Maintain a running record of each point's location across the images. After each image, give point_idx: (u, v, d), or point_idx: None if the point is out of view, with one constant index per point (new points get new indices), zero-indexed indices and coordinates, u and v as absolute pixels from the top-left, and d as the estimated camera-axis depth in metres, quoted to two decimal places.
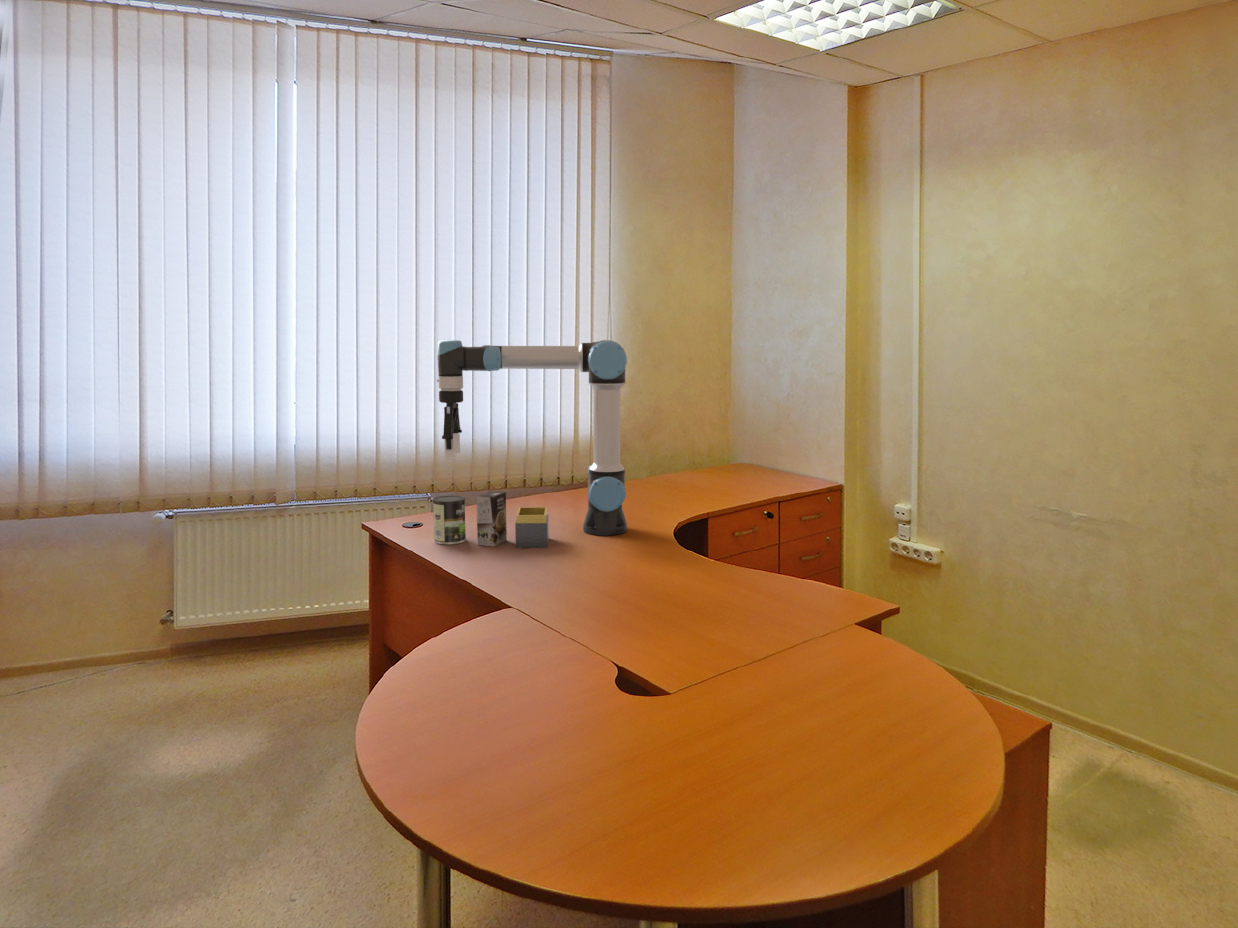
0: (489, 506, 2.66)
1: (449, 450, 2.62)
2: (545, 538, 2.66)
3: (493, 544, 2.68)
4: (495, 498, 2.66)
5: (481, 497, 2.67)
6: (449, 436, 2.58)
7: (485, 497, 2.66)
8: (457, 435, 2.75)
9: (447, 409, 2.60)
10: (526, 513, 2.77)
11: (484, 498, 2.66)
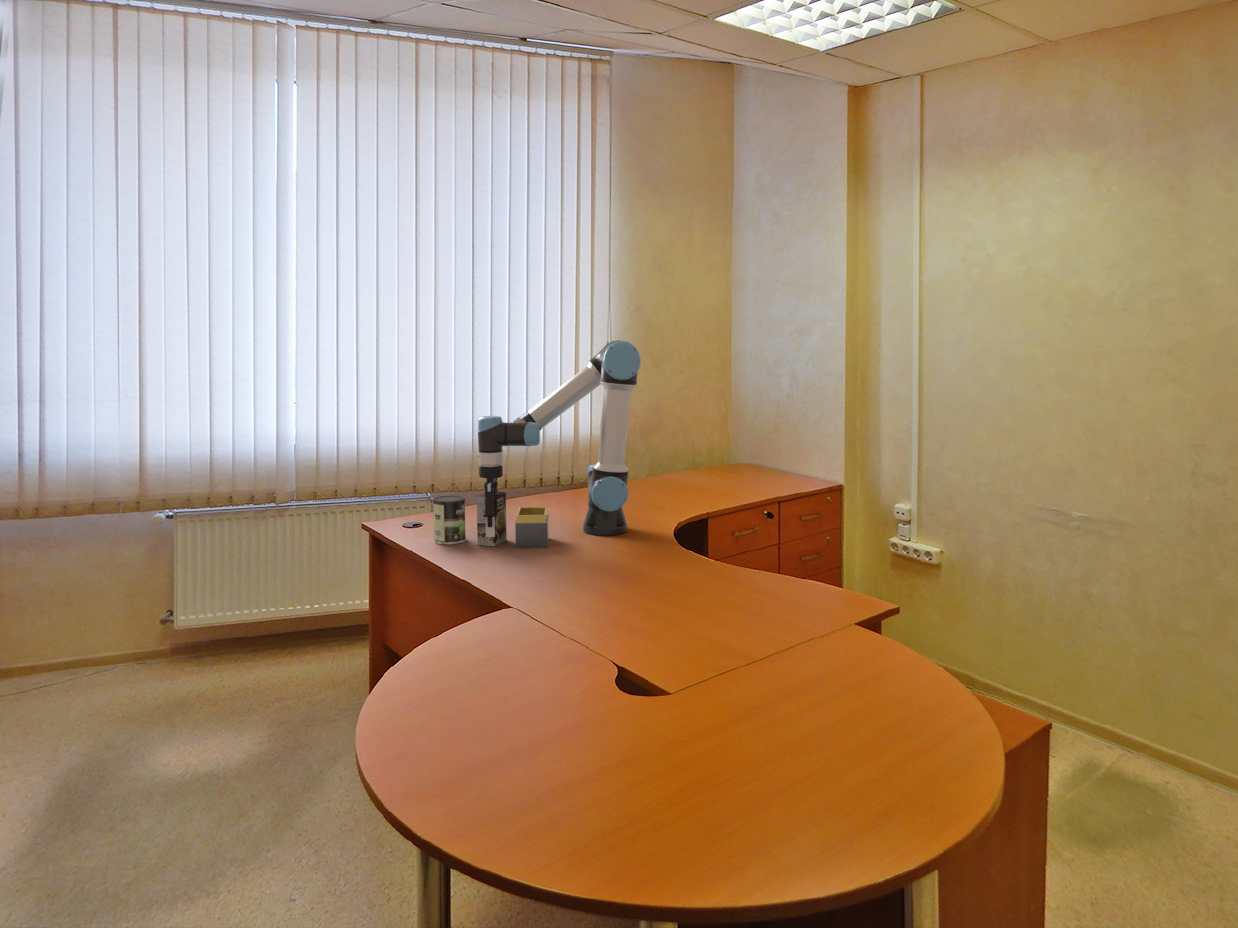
0: None
1: (490, 527, 2.66)
2: (545, 538, 2.66)
3: (493, 544, 2.68)
4: (495, 498, 2.66)
5: (481, 497, 2.67)
6: (490, 515, 2.63)
7: None
8: None
9: (488, 487, 2.63)
10: (526, 513, 2.77)
11: (484, 498, 2.66)
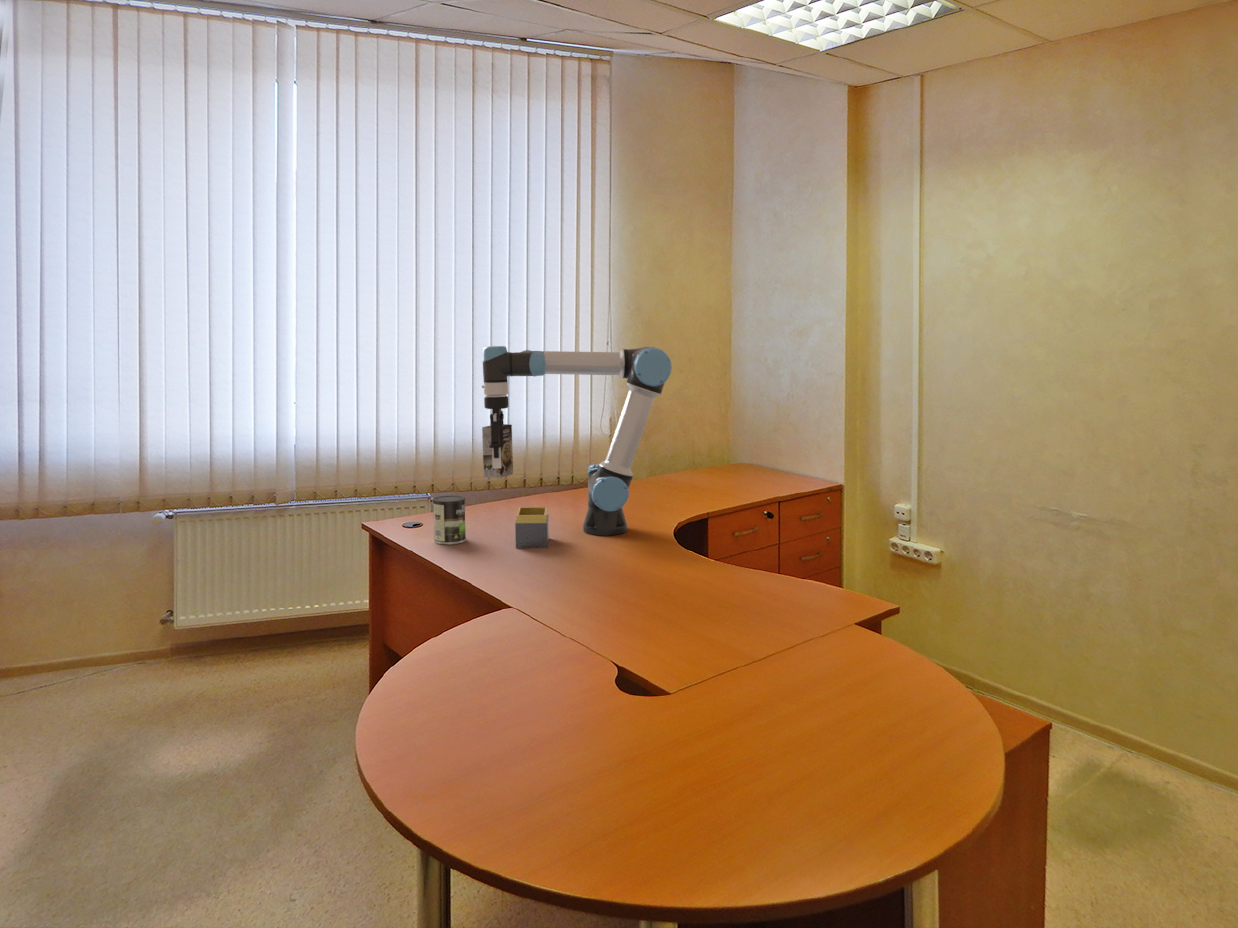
0: None
1: (496, 459, 2.63)
2: (545, 538, 2.66)
3: (499, 476, 2.64)
4: (501, 429, 2.63)
5: (487, 428, 2.63)
6: (497, 445, 2.59)
7: None
8: None
9: (494, 417, 2.60)
10: (526, 513, 2.77)
11: (490, 429, 2.63)
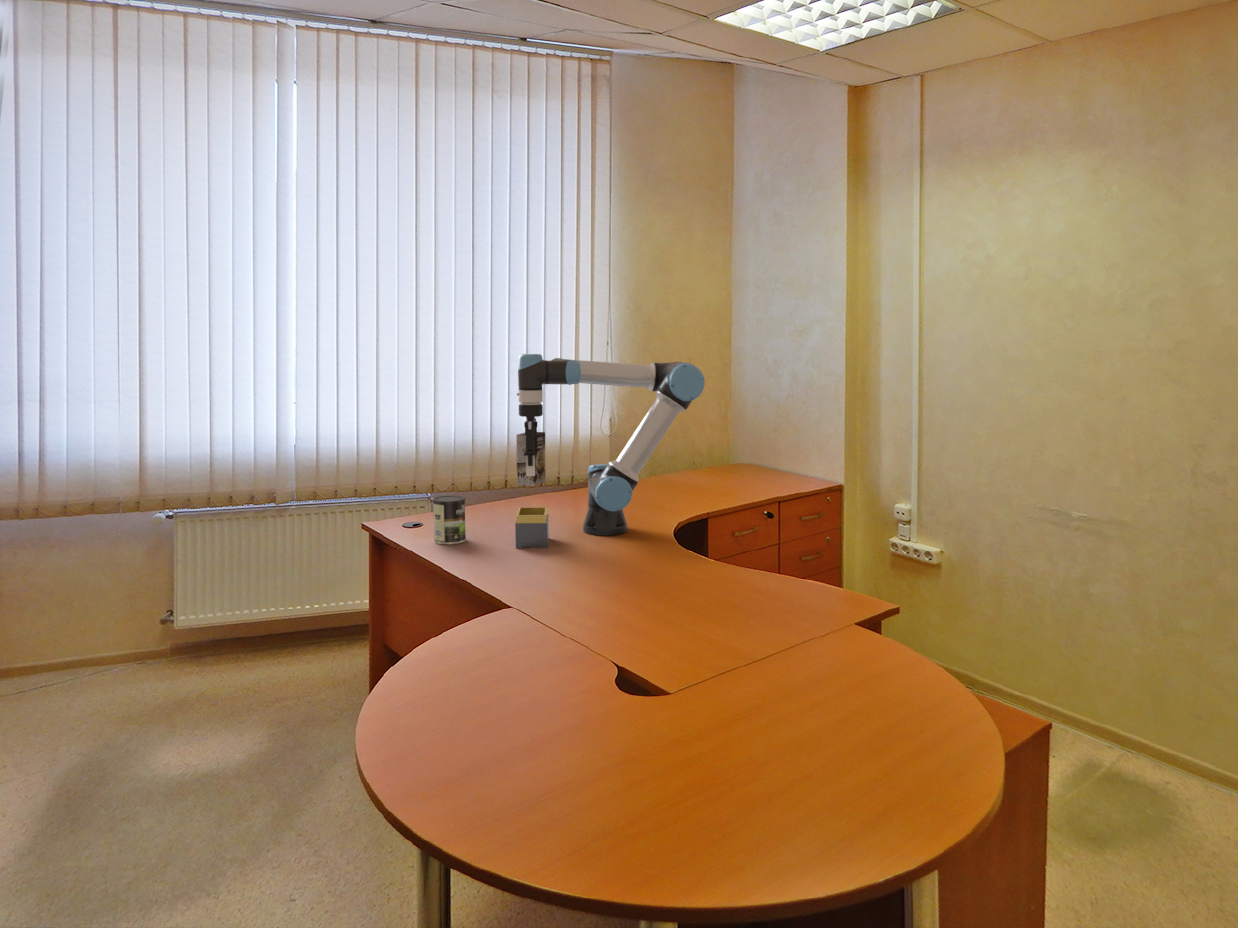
0: None
1: (530, 466, 2.63)
2: (545, 538, 2.66)
3: (533, 483, 2.64)
4: (535, 436, 2.63)
5: (521, 436, 2.63)
6: (531, 453, 2.59)
7: (525, 435, 2.63)
8: None
9: (529, 425, 2.60)
10: (526, 513, 2.77)
11: (524, 437, 2.63)
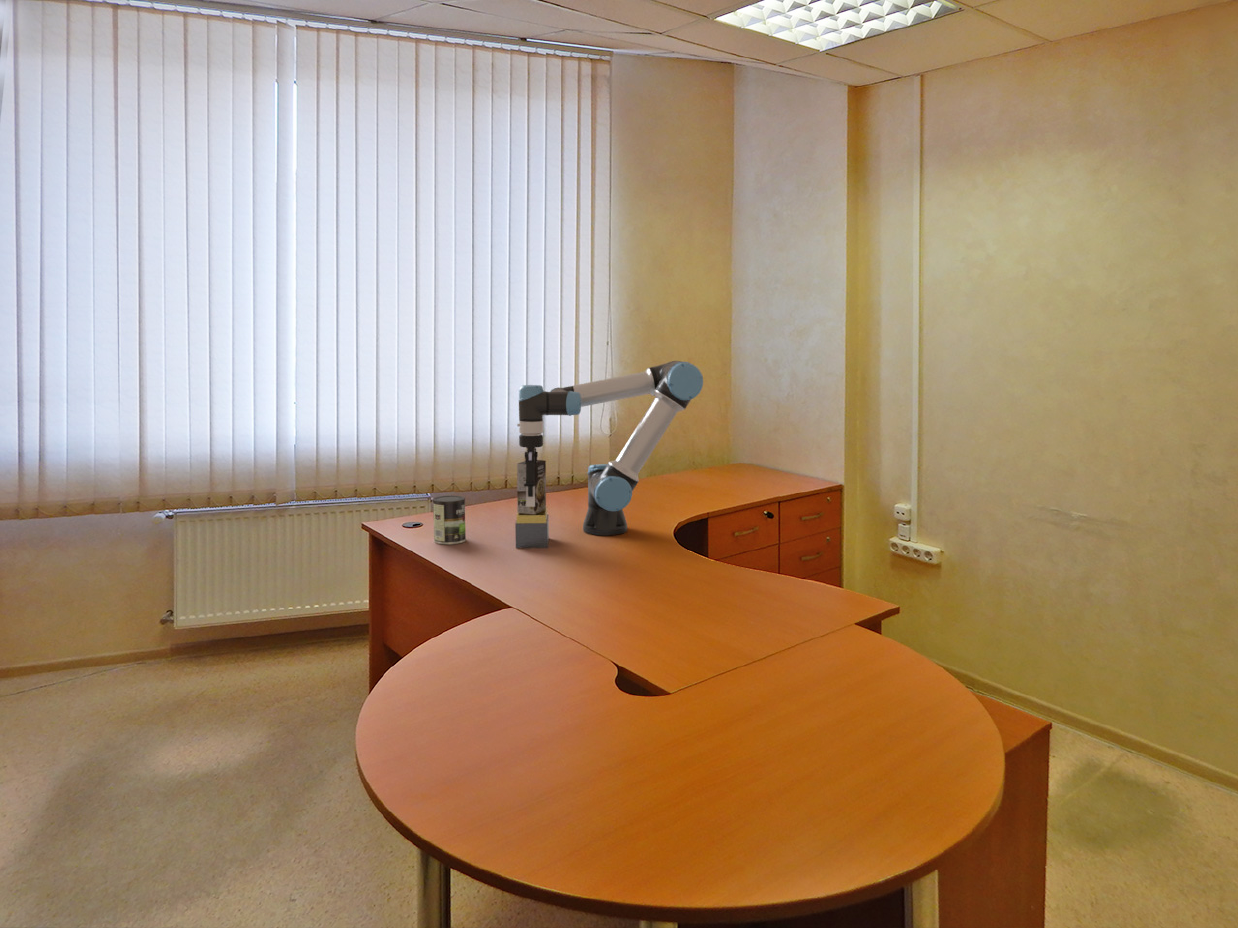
0: None
1: (530, 497, 2.64)
2: (545, 538, 2.66)
3: (533, 512, 2.66)
4: (536, 466, 2.64)
5: (522, 465, 2.65)
6: (531, 484, 2.61)
7: None
8: None
9: (529, 456, 2.61)
10: None
11: (525, 465, 2.64)
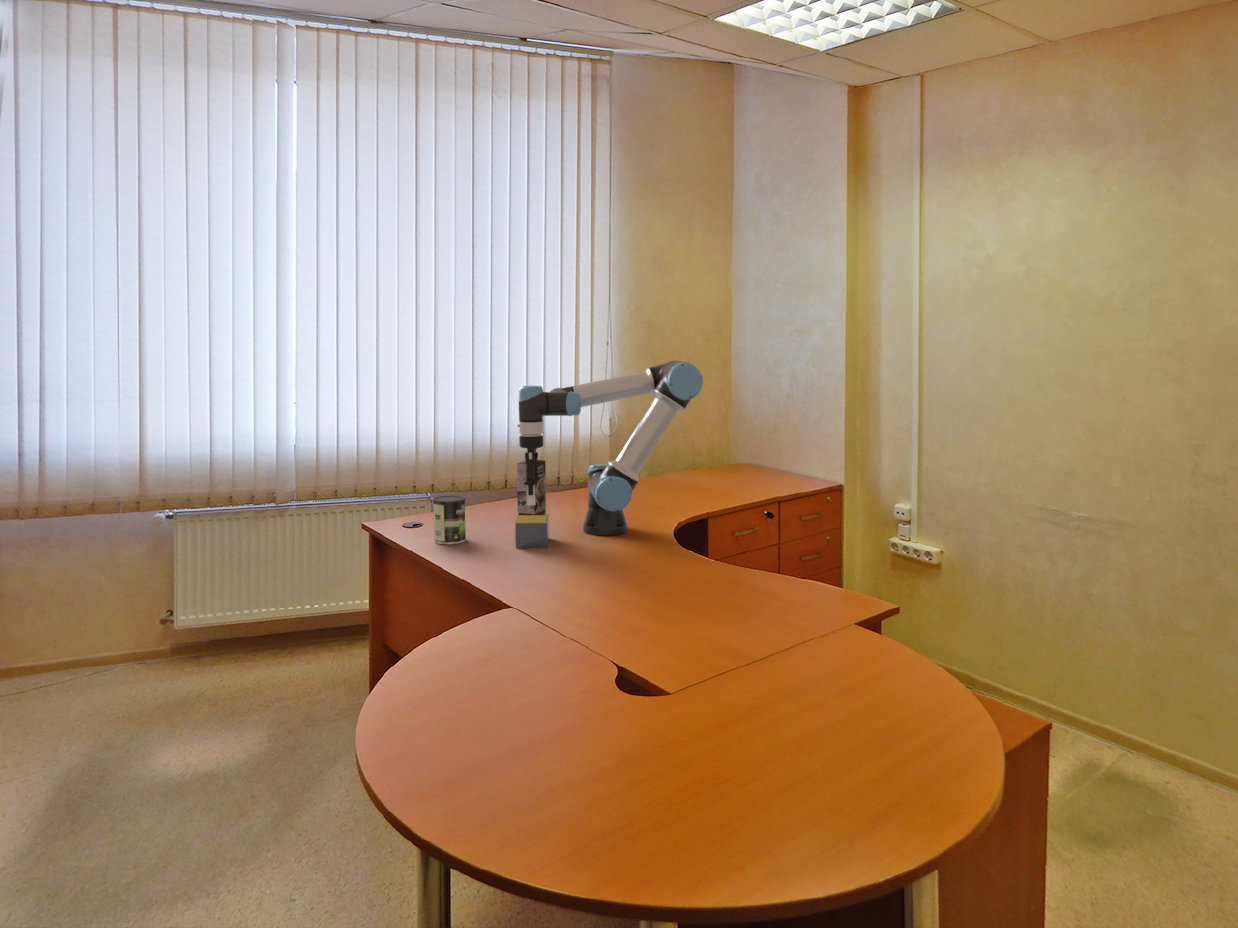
0: None
1: (531, 496, 2.63)
2: (545, 538, 2.66)
3: (533, 512, 2.66)
4: (536, 465, 2.64)
5: (521, 464, 2.65)
6: (532, 482, 2.59)
7: (525, 464, 2.64)
8: None
9: (529, 455, 2.61)
10: None
11: (524, 465, 2.64)
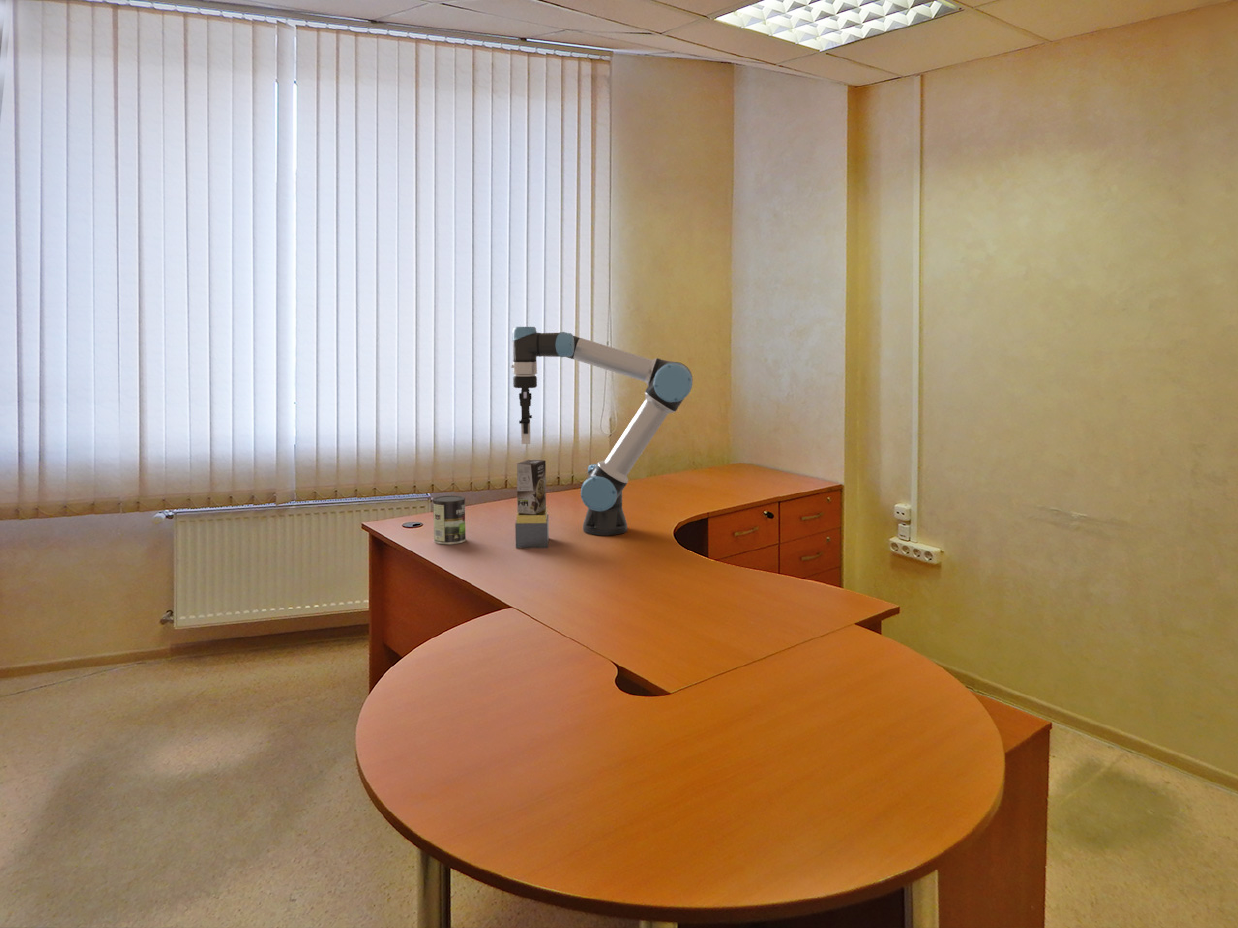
0: (529, 474, 2.64)
1: (526, 434, 2.66)
2: (545, 538, 2.66)
3: (533, 512, 2.66)
4: (536, 465, 2.64)
5: (521, 464, 2.65)
6: (527, 420, 2.63)
7: (526, 464, 2.64)
8: None
9: (524, 394, 2.64)
10: None
11: (525, 465, 2.64)
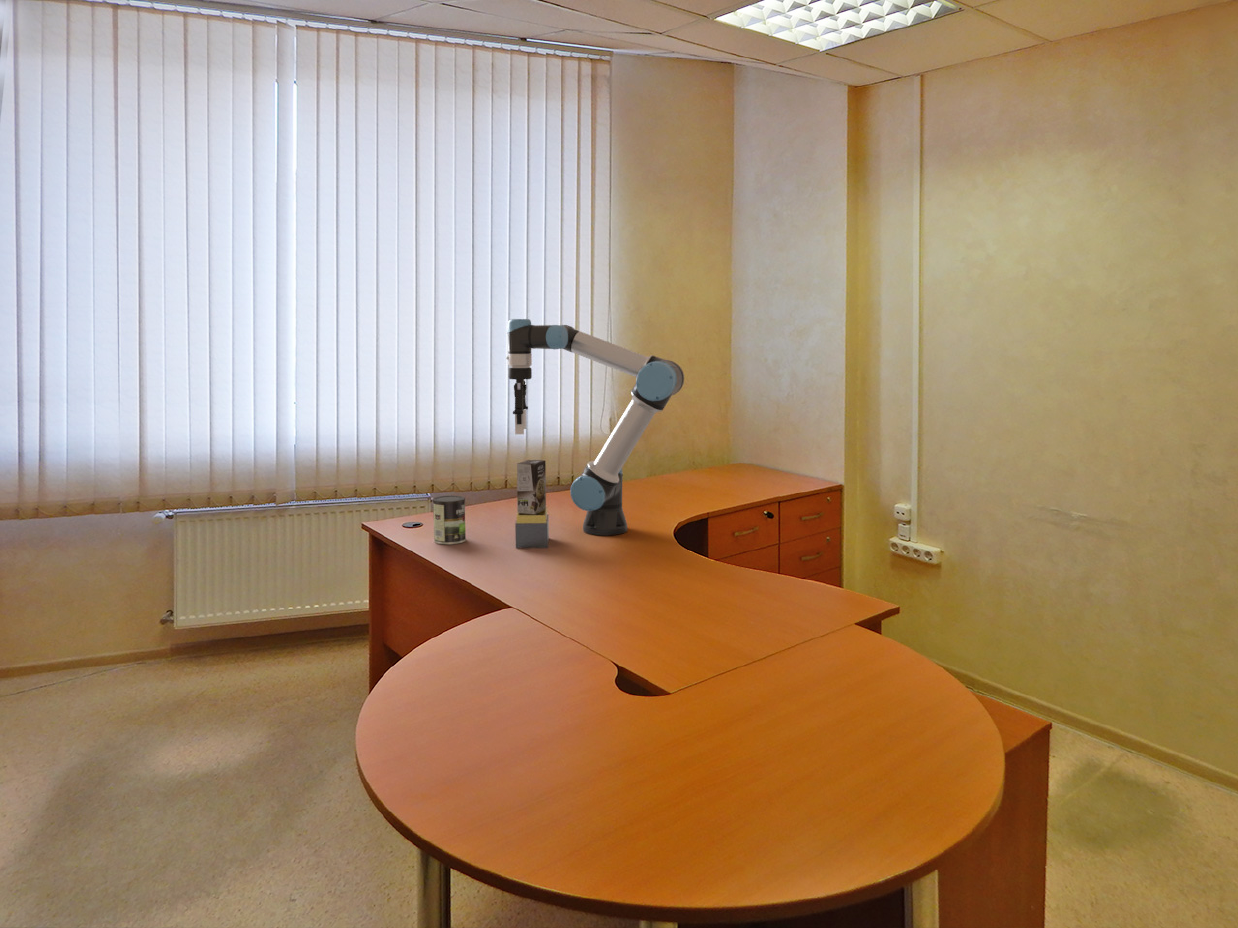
0: (529, 474, 2.64)
1: (519, 425, 2.71)
2: (545, 538, 2.66)
3: (533, 512, 2.66)
4: (536, 465, 2.64)
5: (521, 464, 2.65)
6: (520, 411, 2.68)
7: (526, 464, 2.64)
8: (524, 411, 2.84)
9: (518, 385, 2.69)
10: None
11: (525, 465, 2.64)
